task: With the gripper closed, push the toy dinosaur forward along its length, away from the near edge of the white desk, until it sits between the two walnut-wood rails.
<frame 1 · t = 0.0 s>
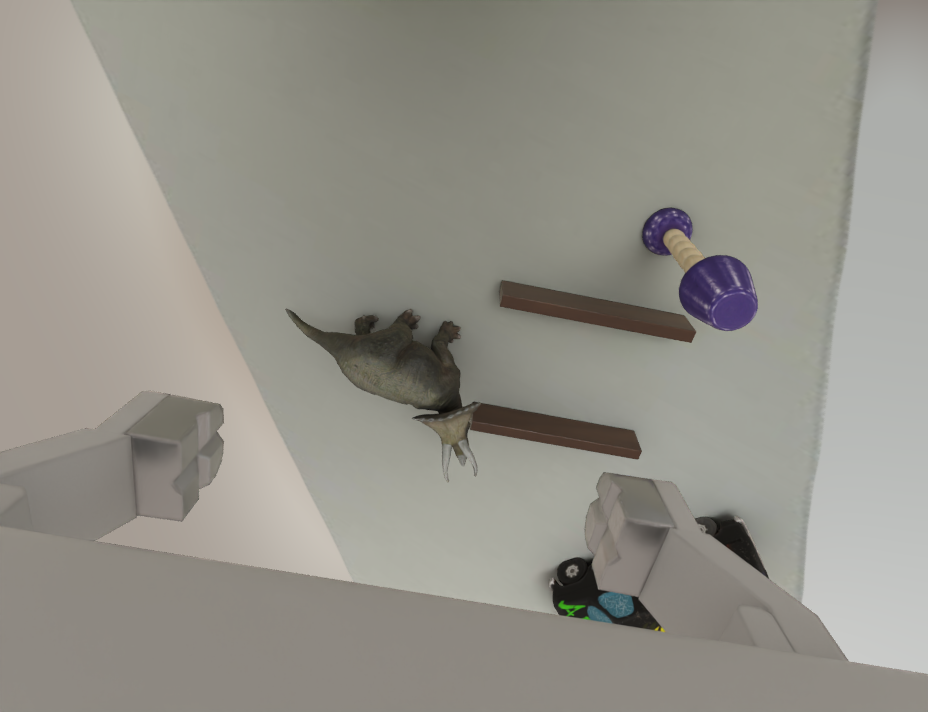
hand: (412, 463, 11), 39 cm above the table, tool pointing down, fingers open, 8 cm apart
toy dinosaur: (408, 334, 54), on the table
toy van: (649, 560, 69), on the table
toy lamp: (661, 231, 48), on the table
walnut rails: (571, 365, 55), on the table
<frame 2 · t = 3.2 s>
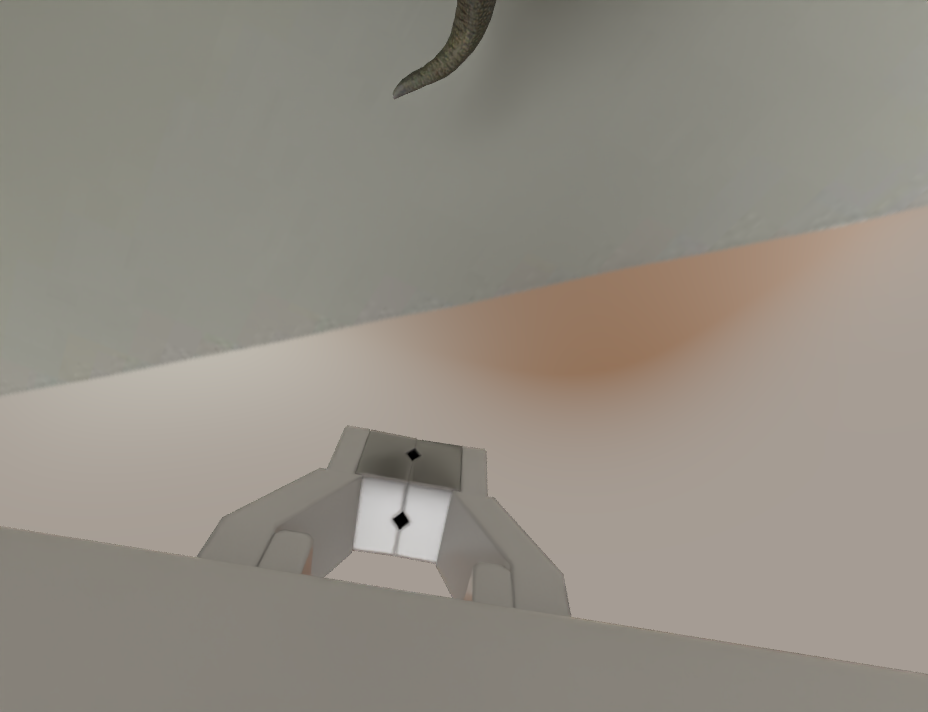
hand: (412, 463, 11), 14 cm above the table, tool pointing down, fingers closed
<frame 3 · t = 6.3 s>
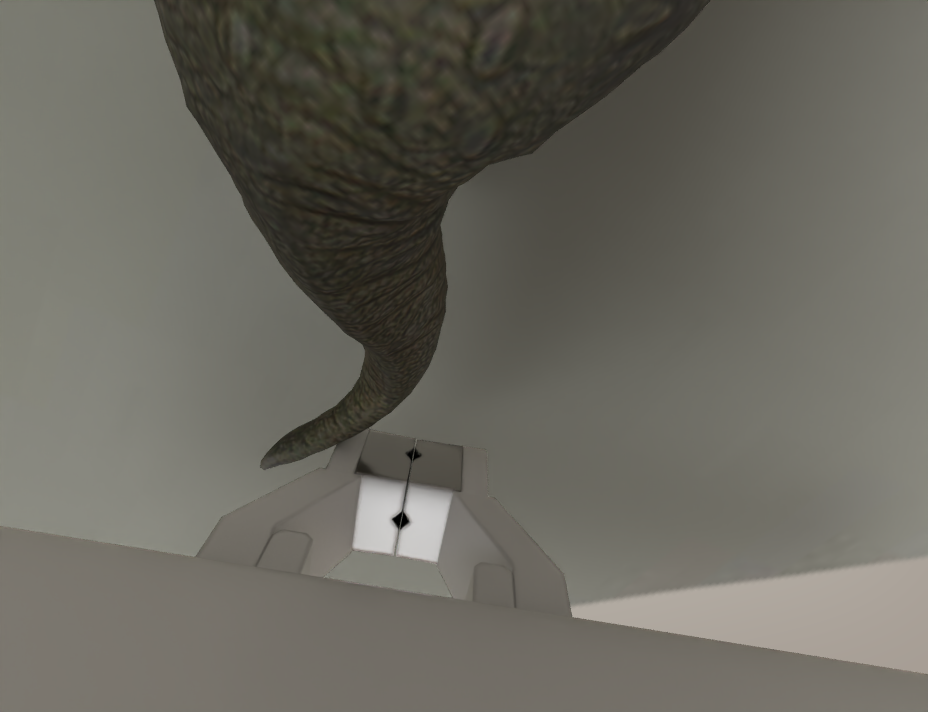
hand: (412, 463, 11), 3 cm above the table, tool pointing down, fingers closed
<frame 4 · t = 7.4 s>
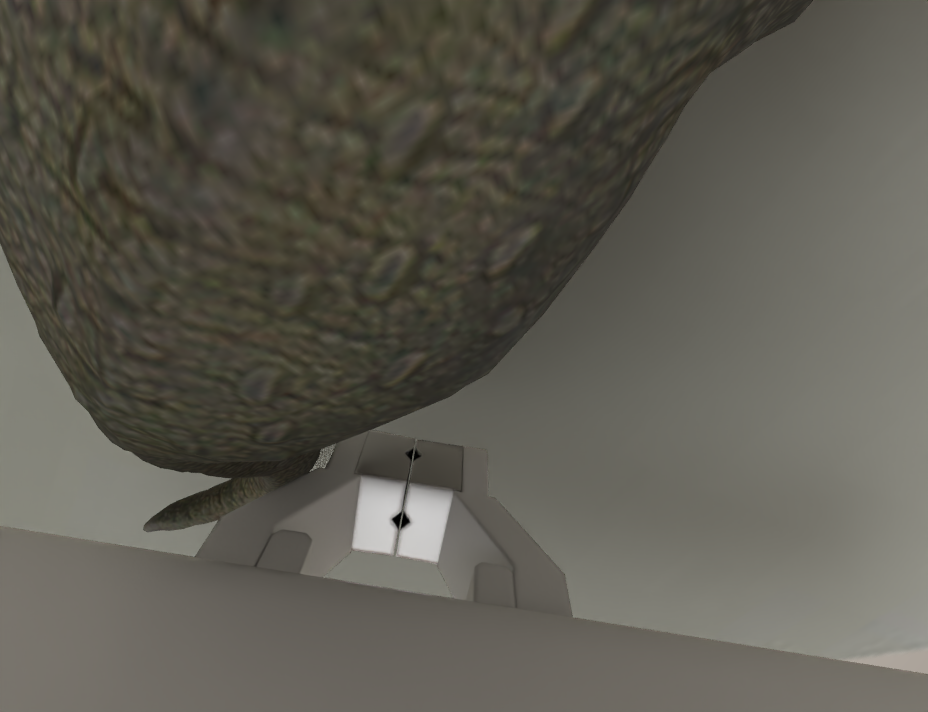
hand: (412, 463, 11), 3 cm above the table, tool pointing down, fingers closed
toy dinosaur: (476, 25, 11), on the table, touching gripper
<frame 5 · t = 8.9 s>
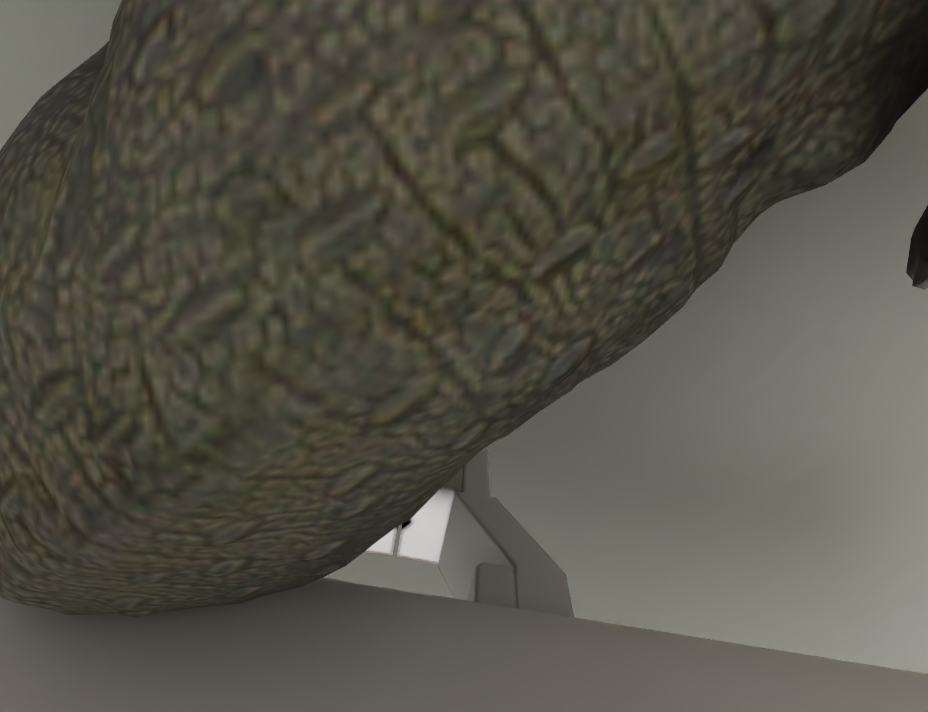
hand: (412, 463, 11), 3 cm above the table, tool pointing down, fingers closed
toy dinosaur: (431, 153, 12), on the table, touching gripper
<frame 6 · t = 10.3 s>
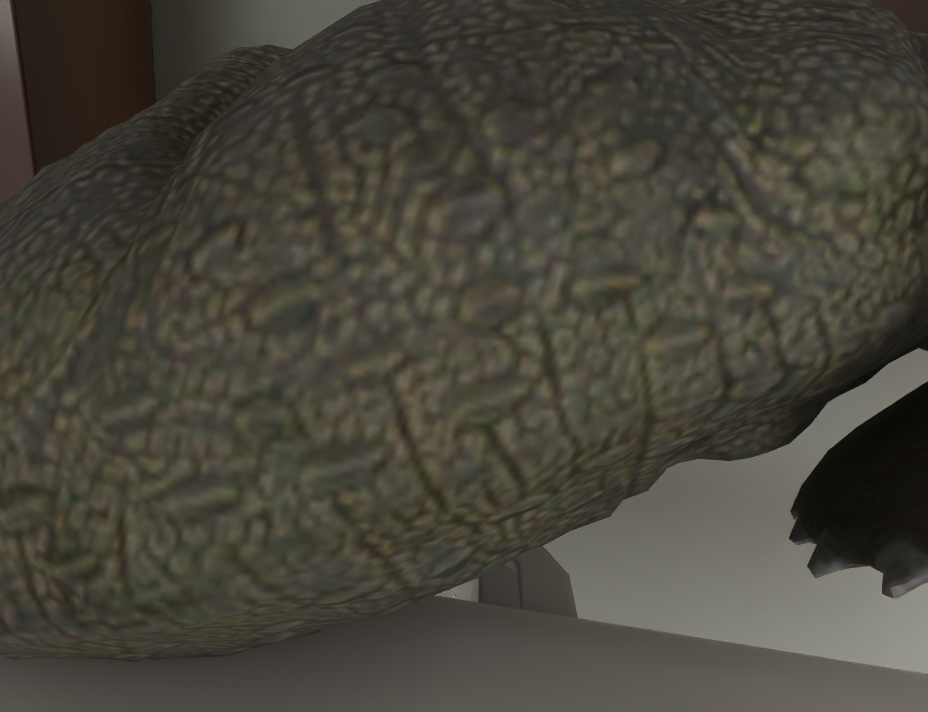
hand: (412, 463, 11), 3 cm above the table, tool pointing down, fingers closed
toy dinosaur: (429, 209, 12), on the table, touching gripper
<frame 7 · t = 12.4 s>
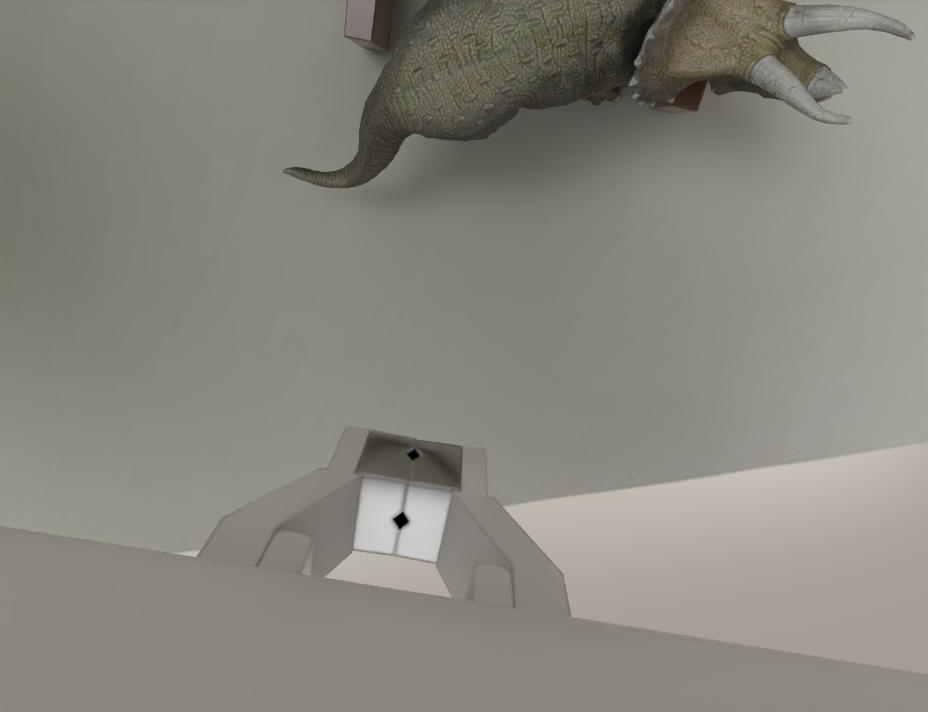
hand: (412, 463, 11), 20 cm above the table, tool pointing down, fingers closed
toy dinosaur: (510, 61, 26), on the table
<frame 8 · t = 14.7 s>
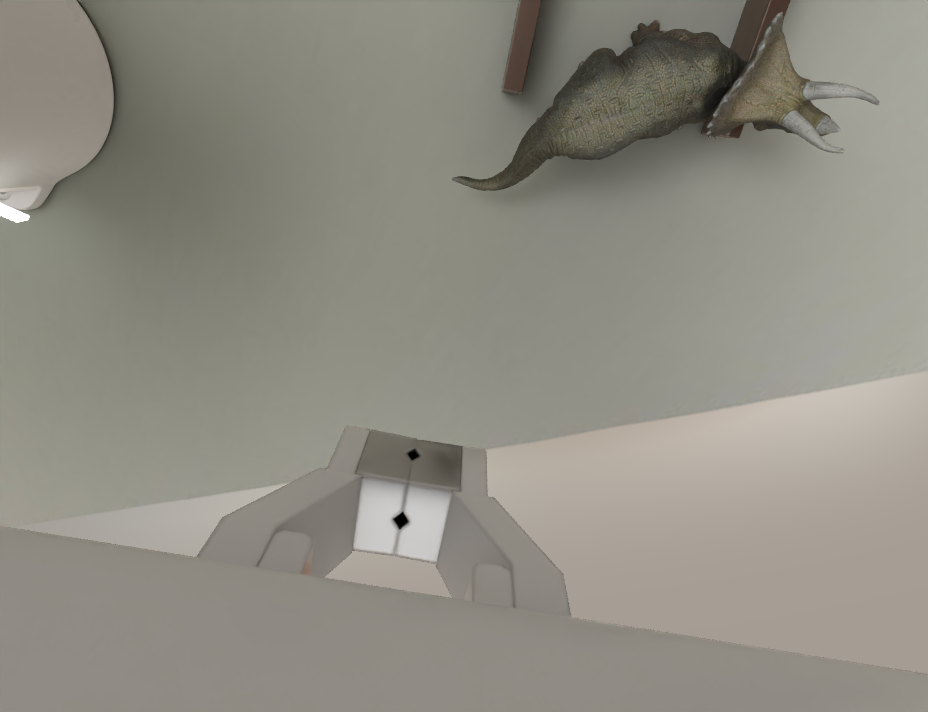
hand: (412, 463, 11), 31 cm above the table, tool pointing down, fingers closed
toy dinosaur: (604, 101, 37), on the table
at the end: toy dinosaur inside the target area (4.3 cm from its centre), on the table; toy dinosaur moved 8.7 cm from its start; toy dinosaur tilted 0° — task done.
